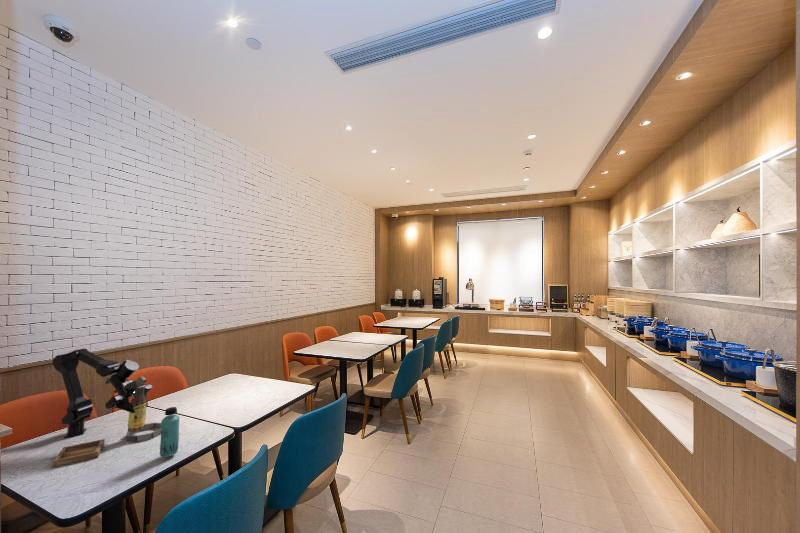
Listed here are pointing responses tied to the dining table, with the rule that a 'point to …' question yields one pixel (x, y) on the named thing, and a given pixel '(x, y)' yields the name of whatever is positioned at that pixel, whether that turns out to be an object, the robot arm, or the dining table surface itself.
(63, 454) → the walnut tray
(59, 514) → the dining table surface
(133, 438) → the metal collar
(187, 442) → the dining table surface
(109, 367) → the robot arm
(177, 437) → the beverage bottle
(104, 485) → the dining table surface
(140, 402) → the sauce bottle
